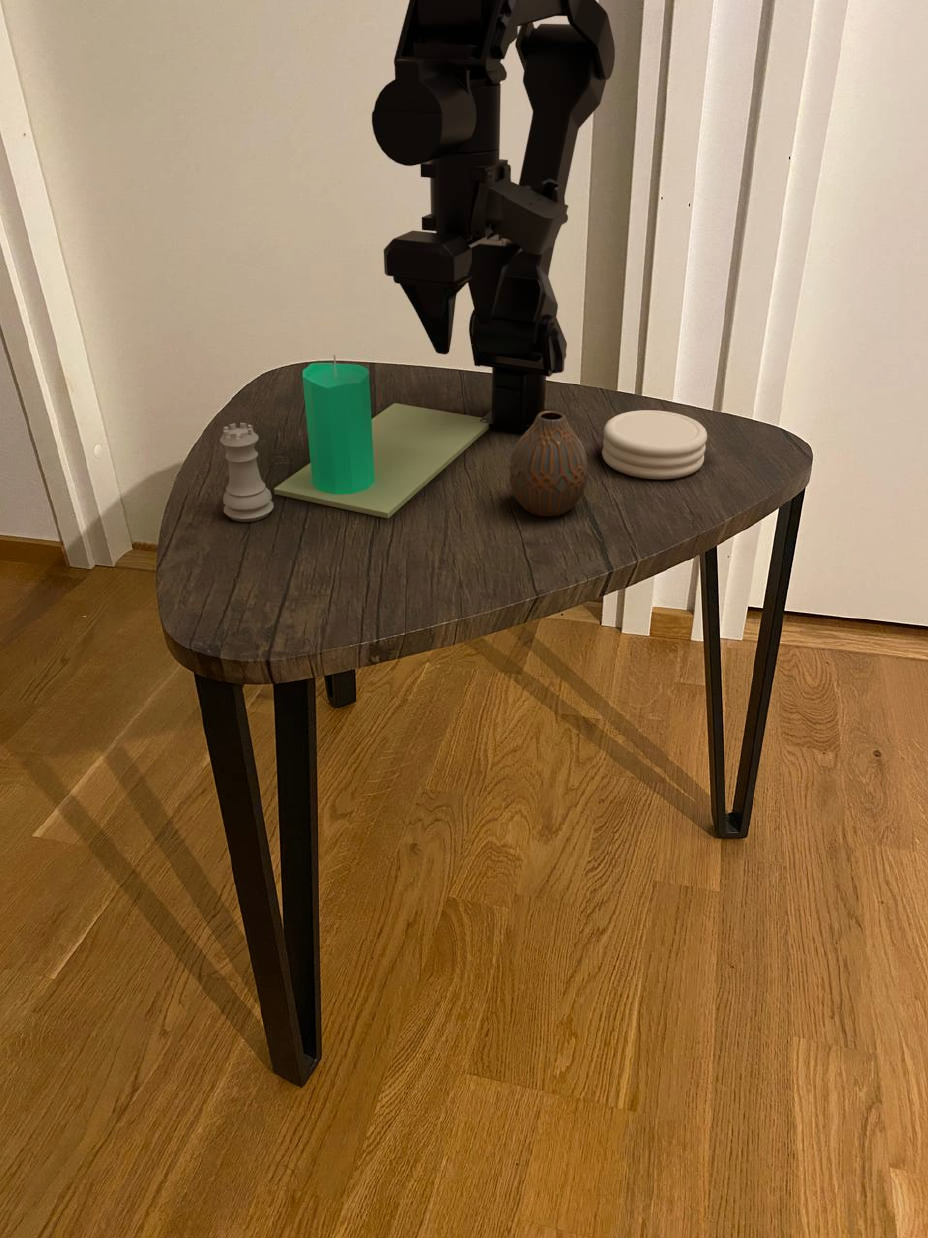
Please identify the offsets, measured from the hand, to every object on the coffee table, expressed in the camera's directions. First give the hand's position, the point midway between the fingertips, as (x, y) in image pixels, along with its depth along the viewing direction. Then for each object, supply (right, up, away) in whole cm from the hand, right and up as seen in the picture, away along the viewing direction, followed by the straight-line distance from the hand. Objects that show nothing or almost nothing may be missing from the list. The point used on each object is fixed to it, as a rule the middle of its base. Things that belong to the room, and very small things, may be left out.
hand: (464, 338), depth 88 cm
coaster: (+19, -10, +9) cm, 23 cm away
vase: (+7, -15, +1) cm, 17 cm away
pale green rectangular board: (-7, -9, +10) cm, 15 cm away
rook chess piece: (-19, -16, 0) cm, 25 cm away
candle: (-11, -12, +4) cm, 17 cm away
